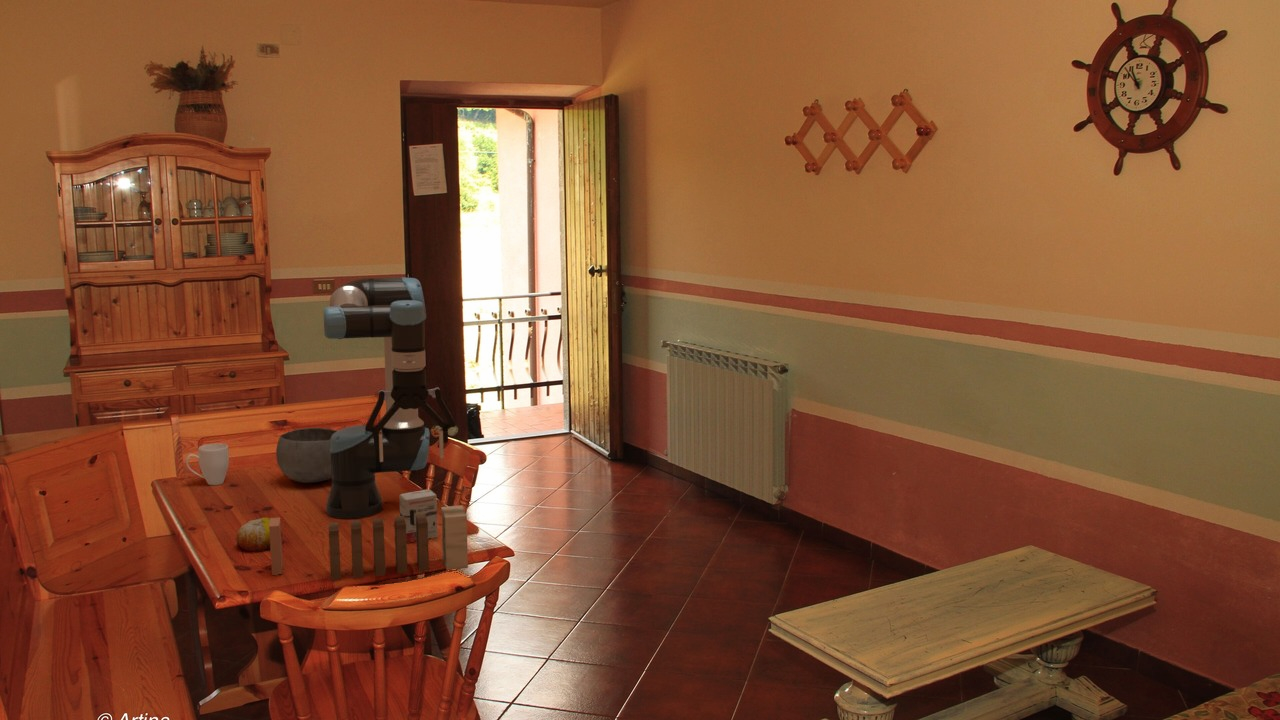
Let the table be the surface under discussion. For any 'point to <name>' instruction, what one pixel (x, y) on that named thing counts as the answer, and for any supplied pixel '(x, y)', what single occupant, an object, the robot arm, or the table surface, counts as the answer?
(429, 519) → the ink box
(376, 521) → the domino
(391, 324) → the robot arm
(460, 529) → the bookend block
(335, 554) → the domino
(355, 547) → the domino
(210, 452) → the mug
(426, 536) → the domino
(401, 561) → the domino
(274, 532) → the domino
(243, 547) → the fruit
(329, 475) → the bowl
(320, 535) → the table surface
